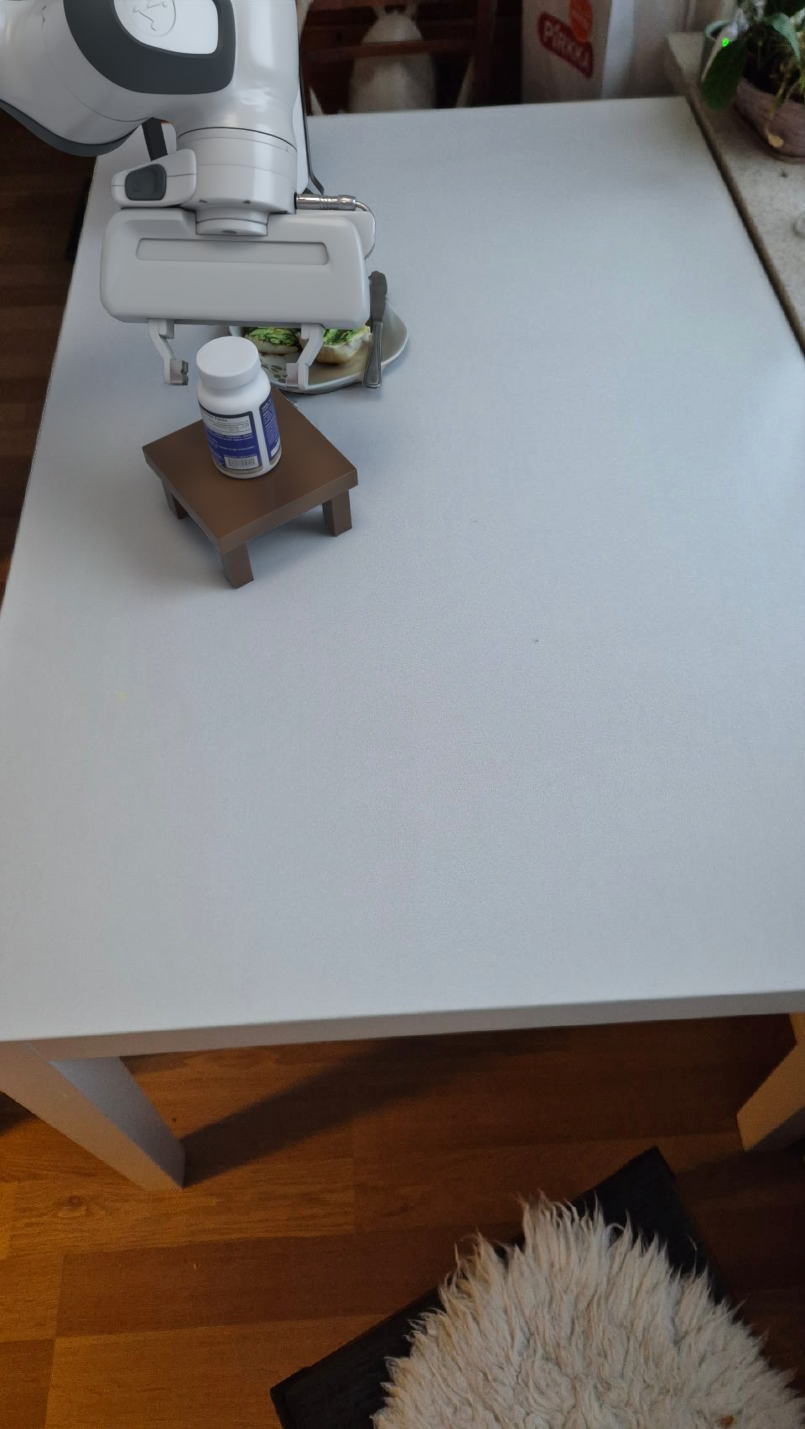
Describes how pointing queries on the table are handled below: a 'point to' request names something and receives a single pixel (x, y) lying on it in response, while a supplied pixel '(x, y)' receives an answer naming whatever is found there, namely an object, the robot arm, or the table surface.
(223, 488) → the stand
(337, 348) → the avocado toast plate
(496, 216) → the table surface
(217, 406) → the pill bottle
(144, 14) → the robot arm
